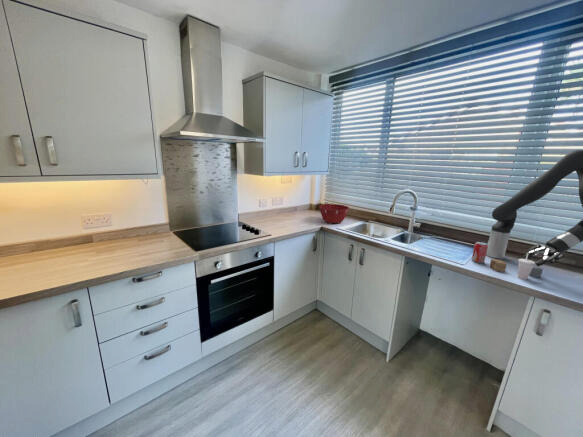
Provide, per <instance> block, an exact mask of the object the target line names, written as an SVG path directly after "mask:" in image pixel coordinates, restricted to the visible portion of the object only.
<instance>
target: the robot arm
mask: <svg viewBox="0 0 583 437" xmlns="http://www.w3.org/2000/svg"><path fill="white" fill-rule="evenodd" d="M574 172H575V173H576V174H577V177H578V196H579V201H580V204H581V207H582V208H583V149H578V150H577V149H576V150H572V151H570V152H568V153H566V154H565V155H564V156H562V157H561V158H560V160H559V161H557V162H556V163H555V164H554V165H553V166H552V167H550V169H548V170H546V171H545V172H544V173H542V174H541V175H540V176H538V177H536V178H535V179H534V180H532V181H531V182H530V183H528V184H527V185H525V187H522V189H521V190H519V191H518V192H517V193H516V194H514V195H513V196H512V197H511V198H509V199H508V200H506V201H505V202H503V203H501V204H500V205H498V206H496V207H495V208H494V209H493V210H492V213H491V216H492V219H493V220H495V221H496V223H495V224H493V225H492V226H491V230H490V234H489V239H488V242H487V243H486V244H487V246H488V248H487V252H486V256H487V257H489V258H491V259H496V260H503V259H505V254H506V252H507V247H508V244H509V240H510V235H511V231H512V229H513V228H514V227H515V224H516V220H517V216H518V212H517V211H518V210H519V209H521V208H522V207H525V206H527V205H530V204H533V203H534V202H536V201H538V200H540V199H542V198H543V197H544V196H547V194H549V193H550V192H551V191H553V190H554V189H555V187H556V186H557V185H558V184H559V183H560V182H561V181H562V180H563V179H564V178H566V177H567V176H569V175H570V174H572V173H574ZM582 242H583V218H582V219H581V220H579V222H578V223H576V224H575V225H574V226H572V227H571V228H569V229H567V230H566V231H564V232H561V233H560V234H558V235H556V236H554V237H553V238H551V239H549V240H548V241H546V242H545V245H541V244H540V243H538V244H536V245H534V246H532V247H530V248H528V250H527V251H528V253H529V254H528V258H527V260H530V258H533V257H534V256H542V257H543V258H541V259H539V260H538V261H535V265H536V266H538V267H540V266H541V267H542V266H543V265H545V264H548V263H550V264H554V263H556V262H557V261H559V260H561V259H562V258H564V255H563V254H564V253H565V252H568V251H569V250H571V249H573V248H574V247H576V246H577V245H579V244H580V243H582ZM526 256H527V253H525V255H523V256H522V259H526Z"/></svg>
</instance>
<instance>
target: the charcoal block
mask: <svg viewBox="0 0 583 437" xmlns="http://www.w3.org/2000/svg"><path fill="white" fill-rule="evenodd" d="M543 270H544V268H542V267H540V266H537V265H536V264H535V265H534V266H533V268H532V270H531V272H530V274H529V276H528V277H532V278H533V277H534V278H541V277H542V273H543Z"/></svg>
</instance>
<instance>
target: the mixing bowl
mask: <svg viewBox="0 0 583 437" xmlns="http://www.w3.org/2000/svg"><path fill="white" fill-rule="evenodd" d="M318 206H319V211H320V215H321V217H322V219H323V221H324V222H326V223H327V222H328V223H327V224H331V223H338V224H340V223H342V222H343V221H344V220H345V218H346V217H347V214H348V212H349V209H350V207H349V206H347V205H343V204H335V203H328V204H327V203H325V204H321V205H318Z"/></svg>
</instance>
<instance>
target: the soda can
mask: <svg viewBox="0 0 583 437" xmlns="http://www.w3.org/2000/svg"><path fill="white" fill-rule="evenodd" d="M487 244H488V243H487V242H483V241H476V242H475V243H474V248H473V252H472V256H471V260H472V261H473V262H474V263H477V264H483V263H485V262H486V256H487V255H486V252H487V248H488V246H487Z"/></svg>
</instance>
